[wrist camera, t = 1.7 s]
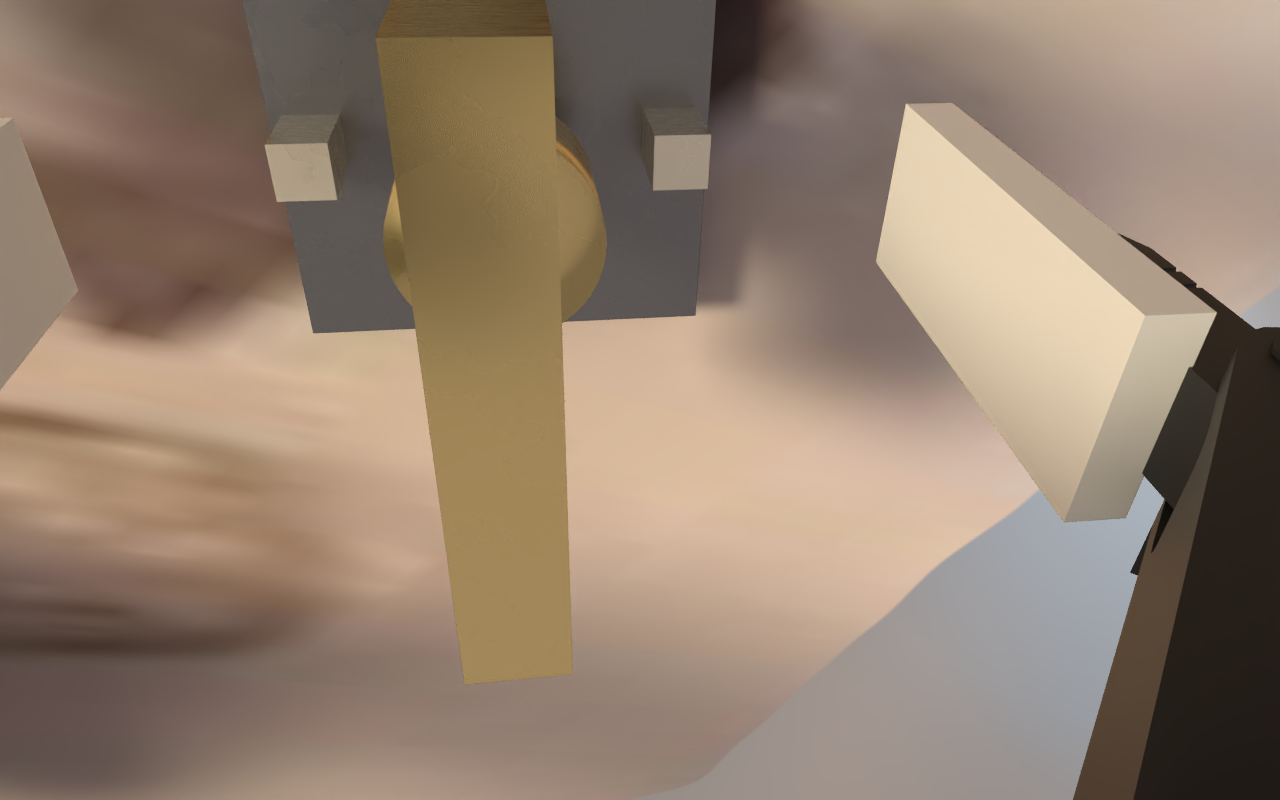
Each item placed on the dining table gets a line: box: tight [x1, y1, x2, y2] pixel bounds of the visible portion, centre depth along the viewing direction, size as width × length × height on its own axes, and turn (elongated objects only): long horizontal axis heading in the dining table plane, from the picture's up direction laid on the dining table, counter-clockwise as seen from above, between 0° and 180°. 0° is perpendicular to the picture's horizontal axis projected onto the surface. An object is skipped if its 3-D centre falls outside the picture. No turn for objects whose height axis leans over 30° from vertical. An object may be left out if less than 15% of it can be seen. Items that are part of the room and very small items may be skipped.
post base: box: [242, 0, 716, 333], centre depth 33 cm, size 16×16×7 cm
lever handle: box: [375, 0, 607, 684], centre depth 25 cm, size 6×16×13 cm, turn 179°
